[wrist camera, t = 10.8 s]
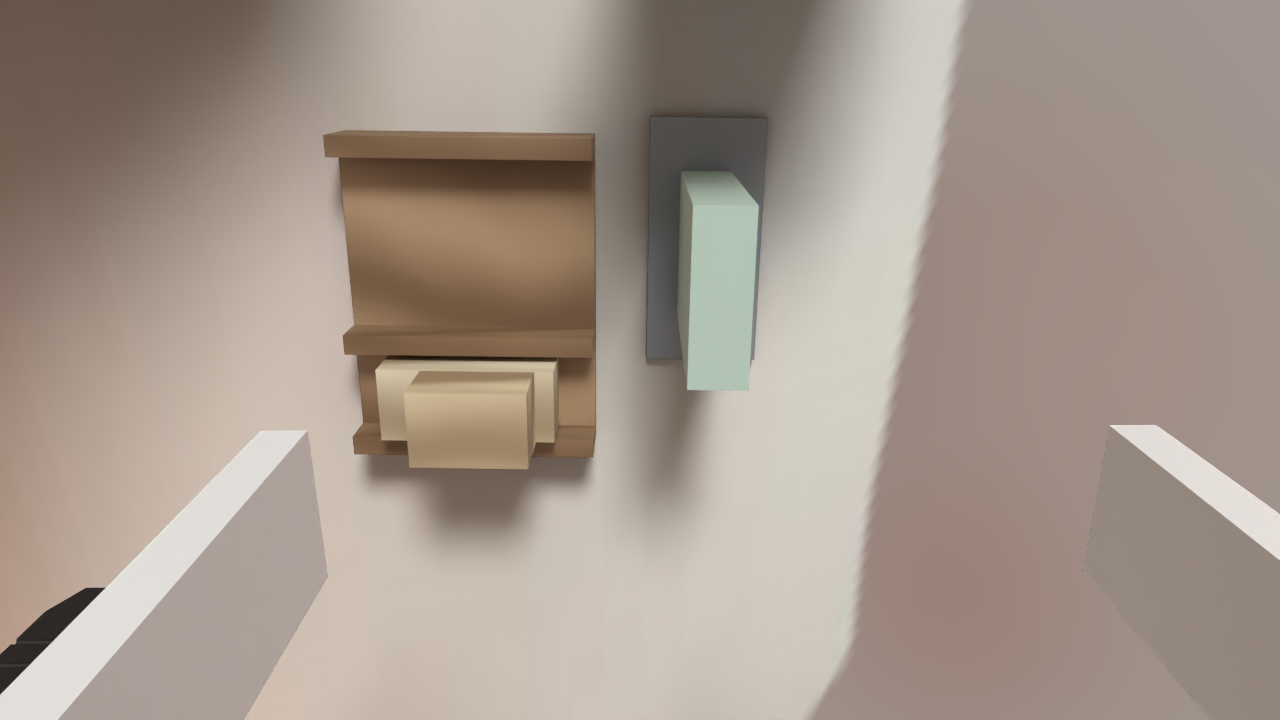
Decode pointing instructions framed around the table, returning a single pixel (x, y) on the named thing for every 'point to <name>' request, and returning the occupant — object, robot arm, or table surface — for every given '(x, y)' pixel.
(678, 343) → the mat
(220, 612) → the robot arm
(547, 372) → the block
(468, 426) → the offcut top
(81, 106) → the table surface
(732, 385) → the sheet
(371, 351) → the rack
